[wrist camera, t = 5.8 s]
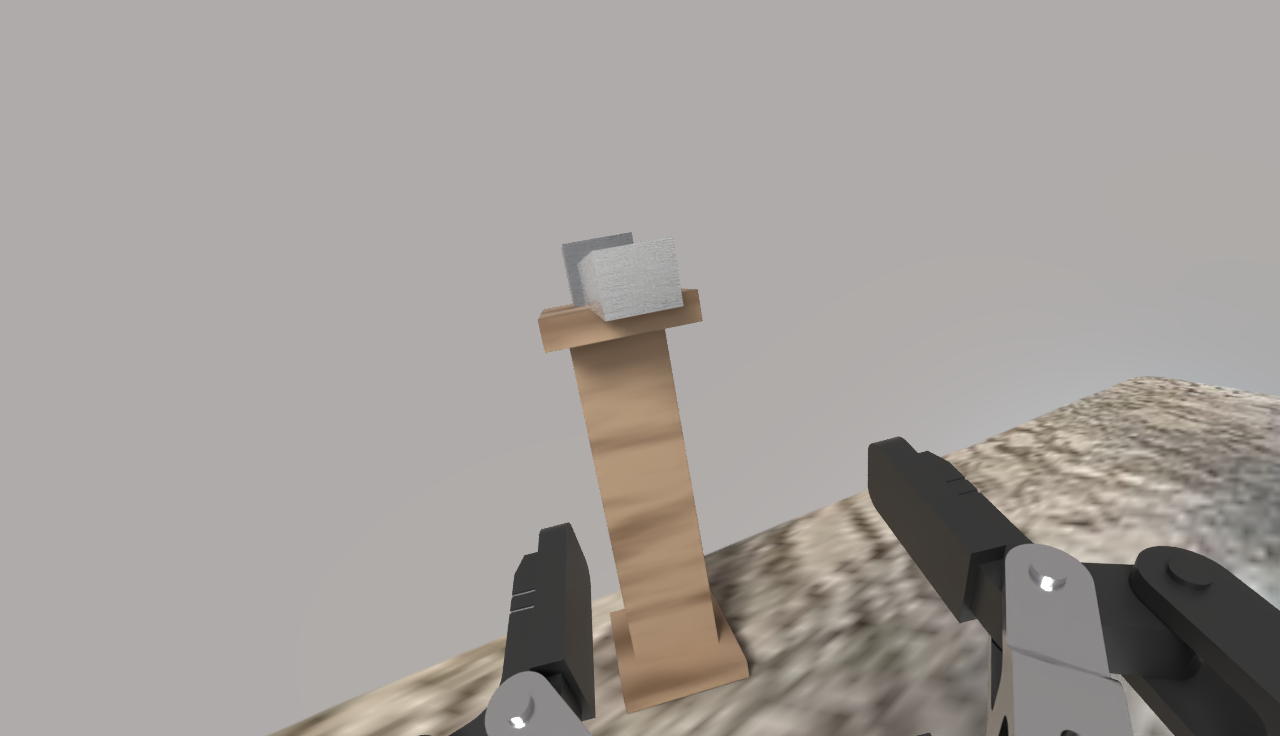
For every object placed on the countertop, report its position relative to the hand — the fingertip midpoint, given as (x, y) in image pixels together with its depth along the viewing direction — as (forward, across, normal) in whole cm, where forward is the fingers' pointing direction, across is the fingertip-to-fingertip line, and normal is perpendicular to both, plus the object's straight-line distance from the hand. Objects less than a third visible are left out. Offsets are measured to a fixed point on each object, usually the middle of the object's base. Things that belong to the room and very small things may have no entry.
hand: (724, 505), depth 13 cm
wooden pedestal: (+15, -4, -33) cm, 36 cm away
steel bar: (+20, -2, -2) cm, 20 cm away
